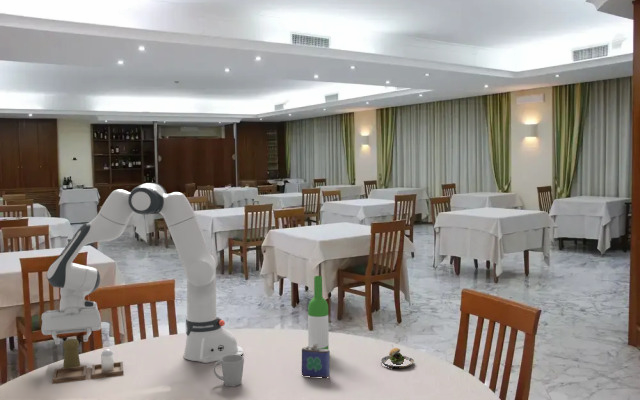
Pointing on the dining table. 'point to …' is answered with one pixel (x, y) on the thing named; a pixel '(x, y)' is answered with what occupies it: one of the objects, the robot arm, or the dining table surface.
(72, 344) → the olive green stopper
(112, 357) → the salt cellar
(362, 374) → the dining table surface
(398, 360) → the burger
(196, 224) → the robot arm
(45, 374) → the dining table surface
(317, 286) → the wine bottle
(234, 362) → the cup
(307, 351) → the flask
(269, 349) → the dining table surface
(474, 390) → the dining table surface
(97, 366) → the cruet board
